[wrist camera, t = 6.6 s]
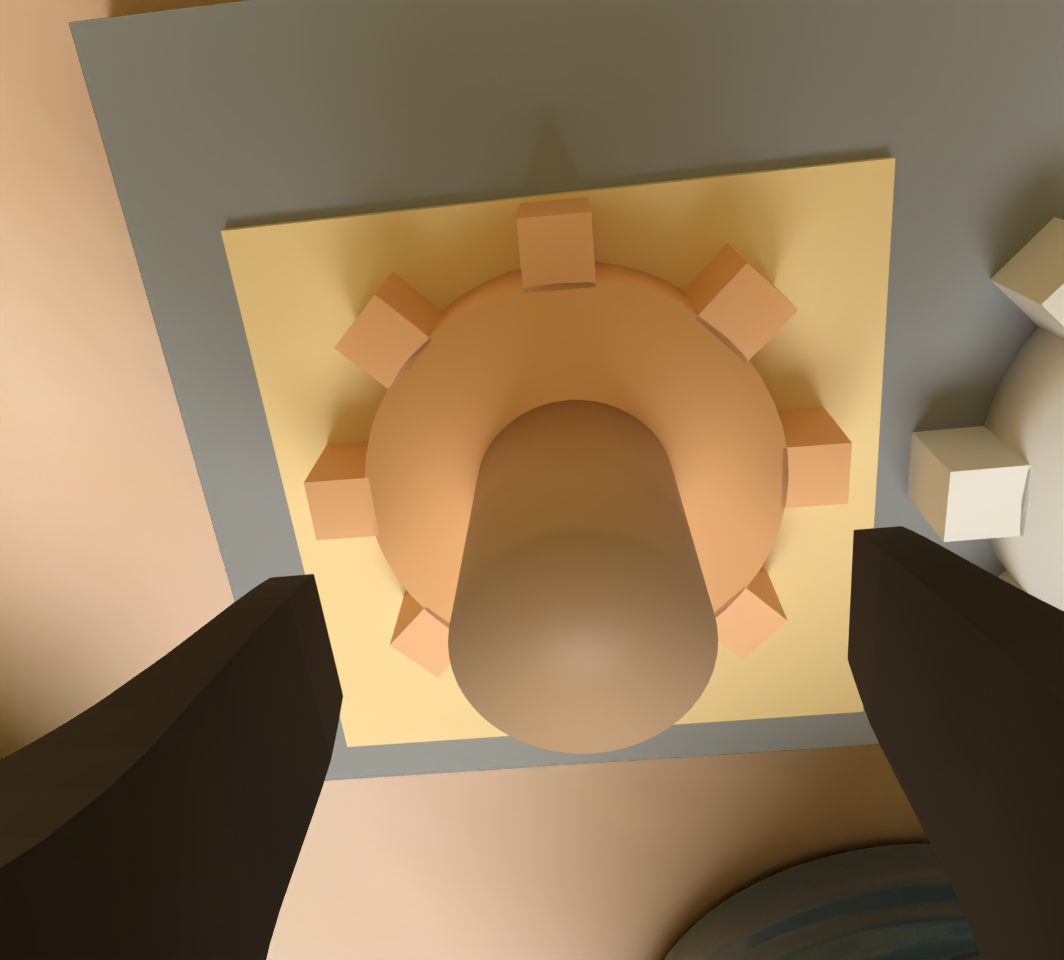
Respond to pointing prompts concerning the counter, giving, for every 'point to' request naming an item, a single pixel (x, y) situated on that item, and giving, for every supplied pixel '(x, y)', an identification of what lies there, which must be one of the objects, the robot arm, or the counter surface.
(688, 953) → the canister
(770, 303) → the wood gear
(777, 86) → the gear board
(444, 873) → the counter surface
